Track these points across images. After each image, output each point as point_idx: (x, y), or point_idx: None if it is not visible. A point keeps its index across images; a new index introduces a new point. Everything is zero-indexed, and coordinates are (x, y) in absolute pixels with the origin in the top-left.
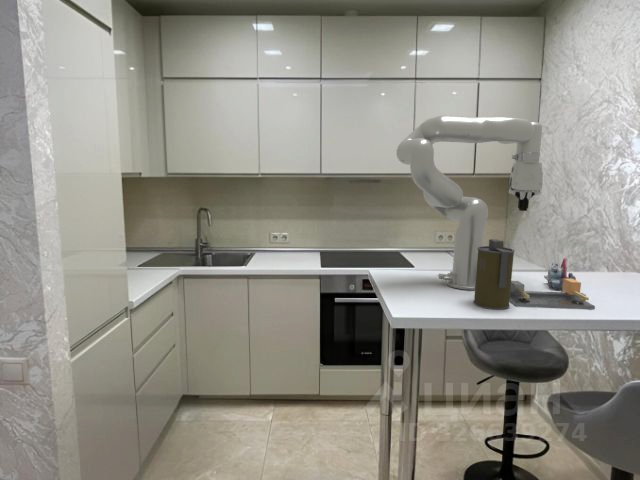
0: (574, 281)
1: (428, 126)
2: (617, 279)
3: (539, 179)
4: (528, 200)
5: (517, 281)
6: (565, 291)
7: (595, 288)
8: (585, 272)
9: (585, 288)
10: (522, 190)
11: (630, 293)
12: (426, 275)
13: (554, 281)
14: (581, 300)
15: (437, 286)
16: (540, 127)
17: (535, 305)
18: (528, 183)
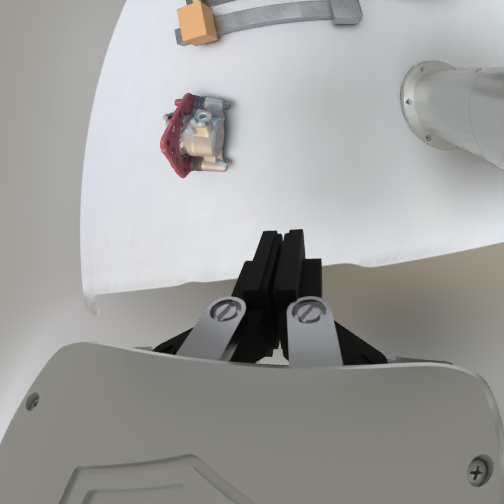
0: (189, 12)
1: None
2: (97, 243)
3: (14, 460)
4: (231, 303)
5: (338, 11)
6: (214, 25)
7: (133, 154)
8: (136, 286)
9: (151, 146)
10: (330, 366)
11: (91, 138)
12: (491, 203)
13: (216, 100)
14: None
15: None
16: None
17: None
18: (183, 487)
